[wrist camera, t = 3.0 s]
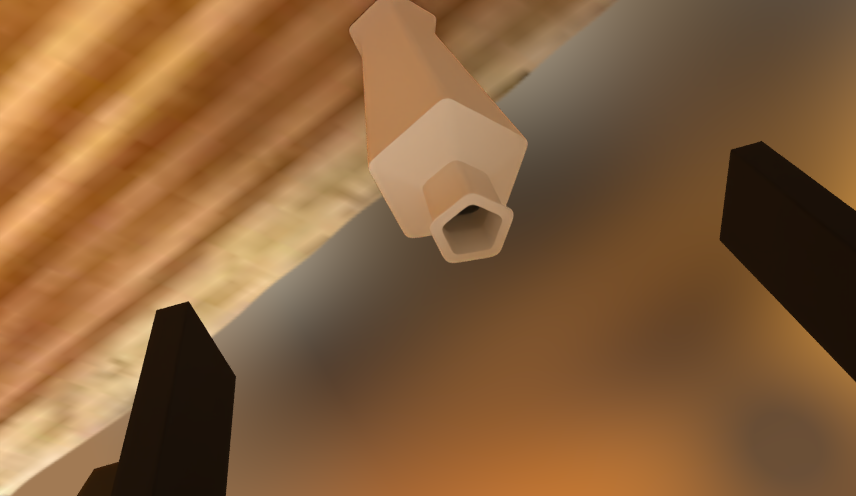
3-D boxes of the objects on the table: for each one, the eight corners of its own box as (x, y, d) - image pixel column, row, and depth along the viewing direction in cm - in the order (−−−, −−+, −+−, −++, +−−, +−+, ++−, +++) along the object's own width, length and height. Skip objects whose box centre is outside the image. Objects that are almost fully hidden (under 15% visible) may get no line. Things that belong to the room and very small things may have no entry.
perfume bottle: (323, 60, 27) (348, 270, 16) (370, -32, 25) (438, 128, 14) (411, 104, 29) (491, 320, 18) (460, 22, 27) (587, 202, 16)
